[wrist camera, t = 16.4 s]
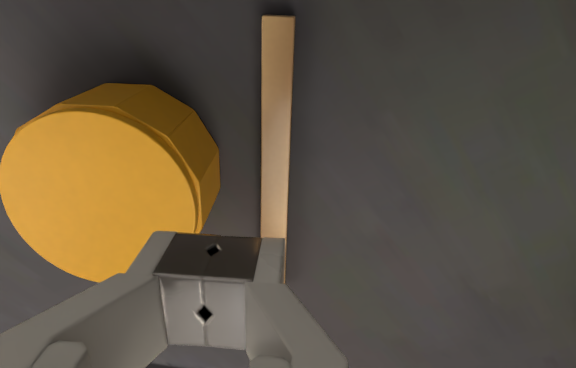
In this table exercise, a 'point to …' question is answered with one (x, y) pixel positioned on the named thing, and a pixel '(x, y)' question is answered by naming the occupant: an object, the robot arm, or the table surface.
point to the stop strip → (276, 123)
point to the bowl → (108, 177)
